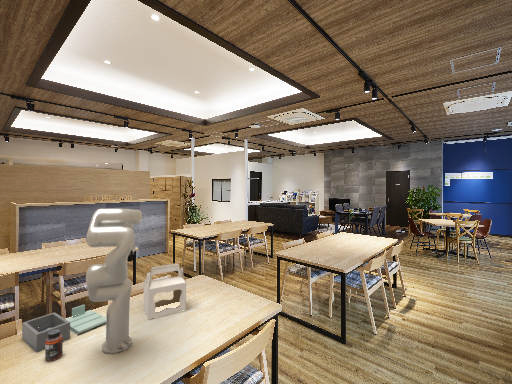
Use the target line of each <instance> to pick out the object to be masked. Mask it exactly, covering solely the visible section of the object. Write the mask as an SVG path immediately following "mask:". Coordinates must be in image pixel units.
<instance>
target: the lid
mask: <svg viewBox="0 0 512 384" xmlns="http://www.w3.org/2000/svg"><path fill="white" fill-rule="evenodd" d="M91 310H92V309H89V310H86V304H81V305H78V306H75V307H72V308H71V316H70V317H71V318H69V317H67V318H68V319H66V318H65V319H66V320H67V321H69V322H70V332H73V333H74V334H75V335H79V334H82V333H84V332H86V331H89V330H91V329H93V328H96V327H99V326H101V325H104V324H106V316H104V315H102V314H100V313H98V312H96V311H94V310H92V311H91ZM78 314H79V315H78ZM75 315H76V316H75ZM72 316H73V317H72Z"/></svg>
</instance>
